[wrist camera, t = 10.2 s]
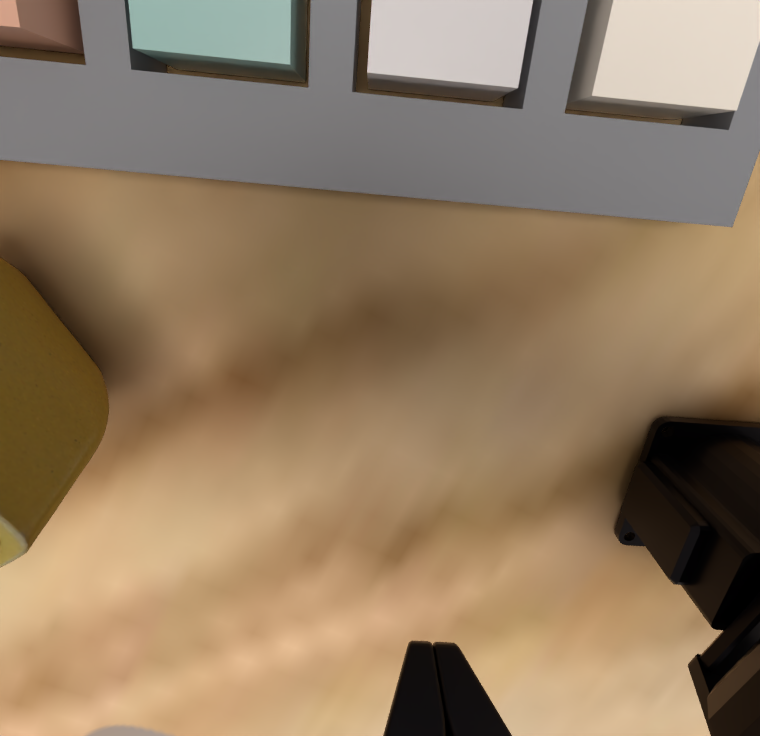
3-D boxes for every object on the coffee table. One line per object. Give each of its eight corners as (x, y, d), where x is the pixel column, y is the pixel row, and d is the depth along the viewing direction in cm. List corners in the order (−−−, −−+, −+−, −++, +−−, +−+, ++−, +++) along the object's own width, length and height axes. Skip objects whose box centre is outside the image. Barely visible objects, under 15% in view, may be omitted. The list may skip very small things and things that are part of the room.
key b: (516, -55, 14) (552, -109, 11) (492, 101, 16) (518, 88, 13) (379, -71, 14) (380, -129, 11) (368, 89, 15) (367, 72, 13)
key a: (716, -32, 14) (799, -79, 11) (673, 120, 16) (736, 110, 13) (584, -47, 14) (635, -99, 11) (553, 107, 16) (591, 95, 13)
